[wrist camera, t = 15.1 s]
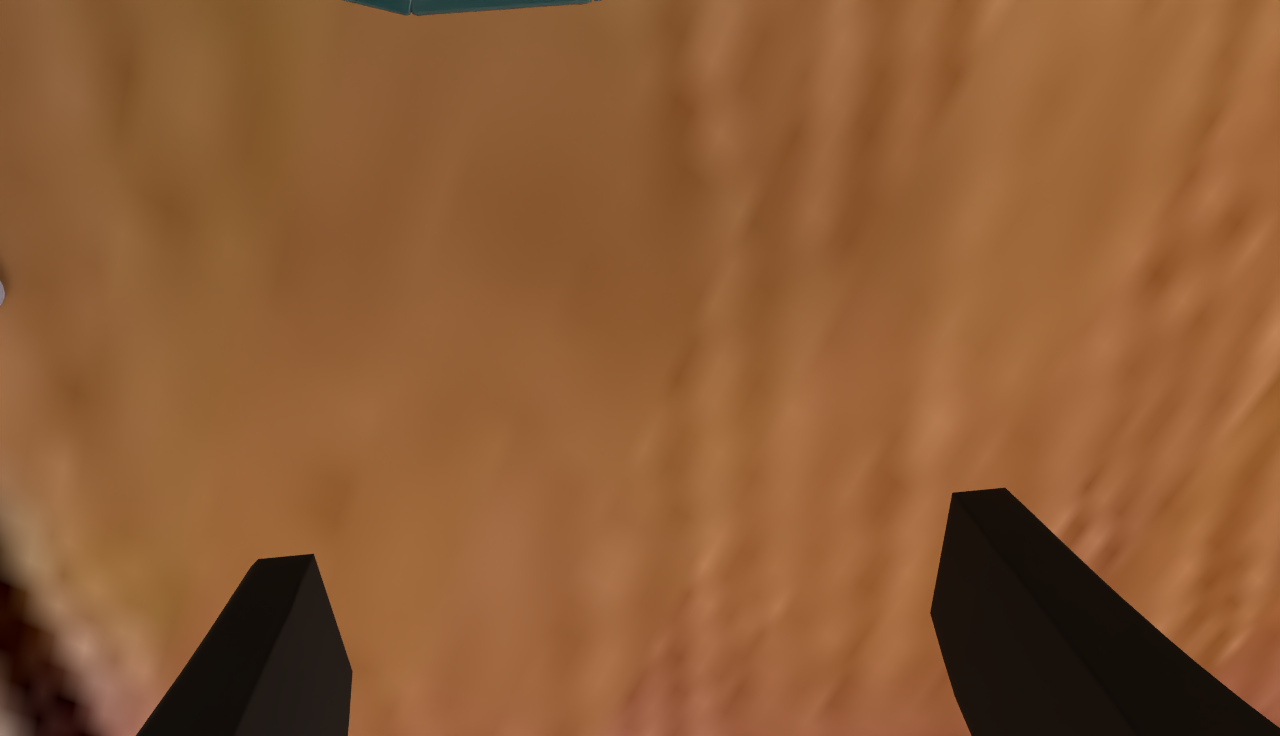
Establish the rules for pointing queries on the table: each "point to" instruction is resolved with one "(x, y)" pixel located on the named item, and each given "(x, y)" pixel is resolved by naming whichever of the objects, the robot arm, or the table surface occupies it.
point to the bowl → (458, 5)
